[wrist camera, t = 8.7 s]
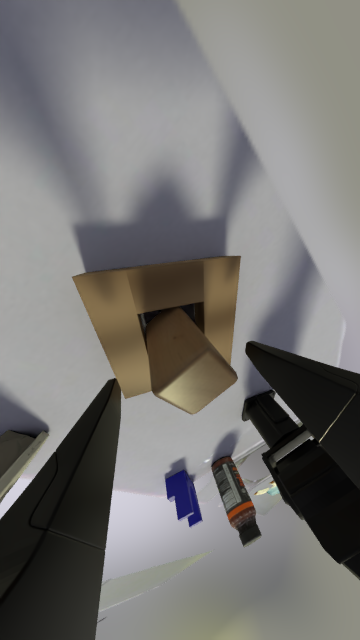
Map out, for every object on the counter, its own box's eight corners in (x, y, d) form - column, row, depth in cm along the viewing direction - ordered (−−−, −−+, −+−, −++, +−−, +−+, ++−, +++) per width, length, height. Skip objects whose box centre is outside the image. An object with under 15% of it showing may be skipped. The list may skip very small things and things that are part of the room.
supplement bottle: (234, 457, 37) (269, 532, 27) (216, 470, 37) (245, 548, 27) (226, 453, 34) (262, 535, 24) (206, 466, 34) (234, 553, 24)
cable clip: (165, 478, 31) (170, 524, 25) (183, 468, 31) (192, 512, 26) (178, 491, 36) (184, 531, 31) (193, 483, 37) (202, 521, 32)
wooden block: (173, 298, 13) (210, 344, 6) (195, 323, 15) (242, 380, 8) (143, 325, 14) (148, 396, 7) (169, 346, 16) (193, 419, 9)
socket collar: (219, 353, 18) (230, 366, 16) (127, 379, 16) (125, 398, 14) (223, 255, 13) (240, 255, 11) (85, 272, 11) (72, 276, 8)
